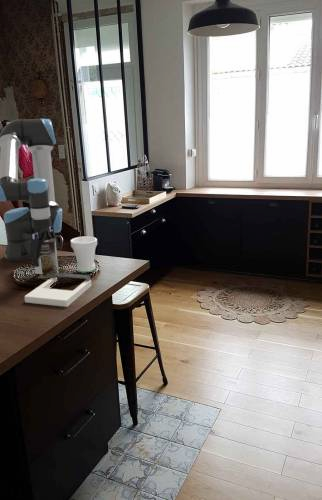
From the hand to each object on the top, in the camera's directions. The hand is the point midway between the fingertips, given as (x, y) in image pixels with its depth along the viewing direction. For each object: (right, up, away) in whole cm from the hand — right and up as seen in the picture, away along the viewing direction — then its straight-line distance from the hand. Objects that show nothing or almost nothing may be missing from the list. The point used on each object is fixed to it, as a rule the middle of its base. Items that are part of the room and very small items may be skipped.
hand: (46, 268), depth 178 cm
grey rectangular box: (0, -4, +1) cm, 4 cm away
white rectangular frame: (+9, -9, -16) cm, 21 cm away
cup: (+15, -2, +7) cm, 17 cm away
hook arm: (+12, -6, -8) cm, 16 cm away
